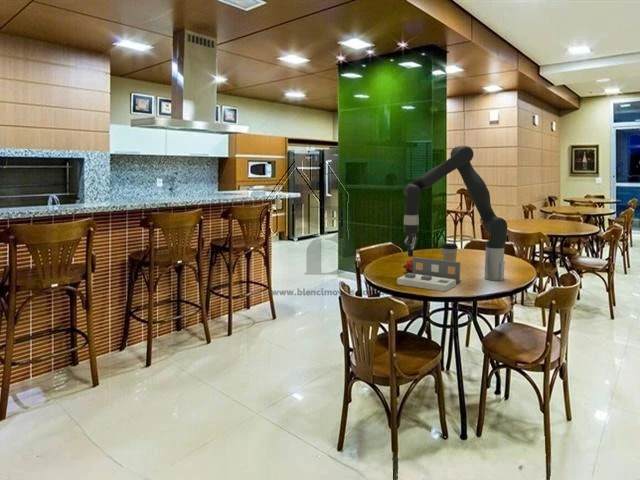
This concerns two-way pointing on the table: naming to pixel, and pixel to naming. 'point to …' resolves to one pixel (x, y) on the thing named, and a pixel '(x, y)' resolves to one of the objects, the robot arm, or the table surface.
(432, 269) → the pattern sign
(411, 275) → the button far
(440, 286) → the button board
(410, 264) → the dragon fruit
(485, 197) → the robot arm
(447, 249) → the coffee cup
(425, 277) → the button middle
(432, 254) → the table surface
